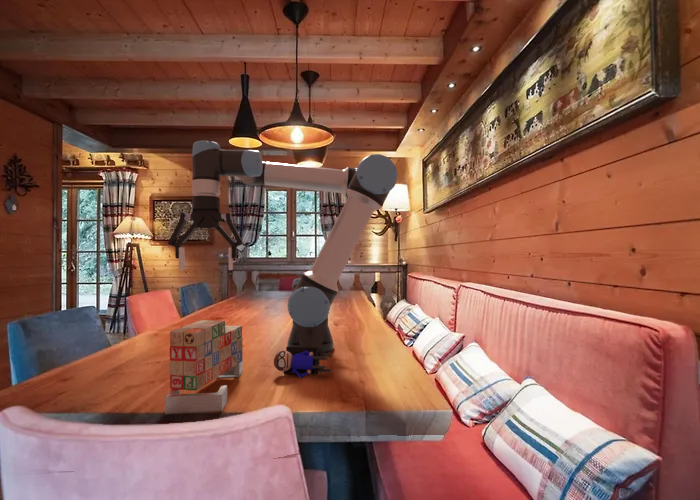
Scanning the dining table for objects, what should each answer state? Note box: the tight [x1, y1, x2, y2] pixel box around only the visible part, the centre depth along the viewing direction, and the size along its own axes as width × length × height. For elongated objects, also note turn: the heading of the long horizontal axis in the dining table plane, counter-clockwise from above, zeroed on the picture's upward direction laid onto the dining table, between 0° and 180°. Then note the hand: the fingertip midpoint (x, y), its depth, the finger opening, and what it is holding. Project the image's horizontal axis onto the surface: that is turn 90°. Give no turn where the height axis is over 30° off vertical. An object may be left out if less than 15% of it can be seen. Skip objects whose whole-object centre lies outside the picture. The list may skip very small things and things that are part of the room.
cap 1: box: [164, 384, 228, 416], centre depth 79 cm, size 11×5×4 cm, turn 97°
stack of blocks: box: [169, 319, 244, 392], centre depth 90 cm, size 21×6×12 cm, turn 170°
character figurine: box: [273, 346, 332, 379], centre depth 100 cm, size 8×7×15 cm
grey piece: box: [216, 357, 244, 379], centre depth 100 cm, size 11×5×4 cm, turn 97°
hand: (206, 270), depth 111 cm, fingers open, 13 cm apart
